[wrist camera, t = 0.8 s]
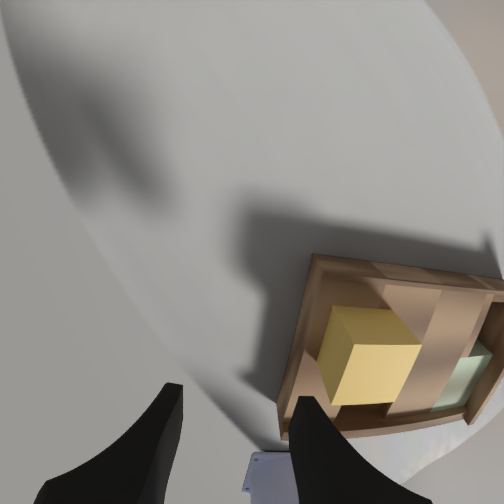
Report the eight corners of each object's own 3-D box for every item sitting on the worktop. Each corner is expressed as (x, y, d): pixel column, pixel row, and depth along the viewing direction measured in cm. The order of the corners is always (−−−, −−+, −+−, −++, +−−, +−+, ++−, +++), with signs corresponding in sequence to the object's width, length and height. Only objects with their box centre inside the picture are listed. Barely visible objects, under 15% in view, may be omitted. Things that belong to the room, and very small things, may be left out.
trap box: (451, 393, 24) (473, 423, 19) (276, 404, 23) (282, 450, 18) (502, 279, 20) (538, 301, 15) (312, 253, 19) (333, 285, 14)
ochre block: (372, 362, 18) (394, 401, 14) (316, 361, 18) (330, 405, 14) (392, 309, 17) (422, 344, 13) (332, 305, 17) (354, 344, 13)
